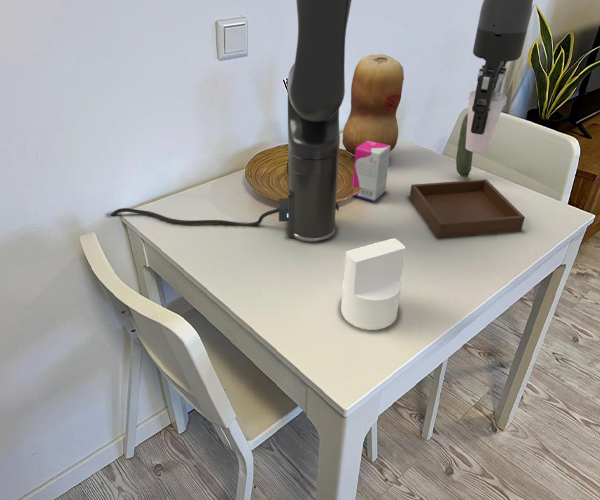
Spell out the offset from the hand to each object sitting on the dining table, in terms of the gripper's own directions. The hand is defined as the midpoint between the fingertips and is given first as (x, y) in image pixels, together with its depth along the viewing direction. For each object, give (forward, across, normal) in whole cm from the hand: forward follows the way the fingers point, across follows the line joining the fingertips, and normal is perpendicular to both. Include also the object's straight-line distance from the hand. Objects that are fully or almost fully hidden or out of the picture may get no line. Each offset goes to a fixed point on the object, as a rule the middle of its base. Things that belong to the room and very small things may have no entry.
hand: (480, 126), depth 90 cm
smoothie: (+4, 0, 0) cm, 4 cm away
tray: (+22, -7, -1) cm, 23 cm away
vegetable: (+22, -24, -4) cm, 33 cm away
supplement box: (+22, -6, -21) cm, 31 cm away
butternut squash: (+22, -24, -28) cm, 42 cm away
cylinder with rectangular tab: (+22, +31, -8) cm, 39 cm away
